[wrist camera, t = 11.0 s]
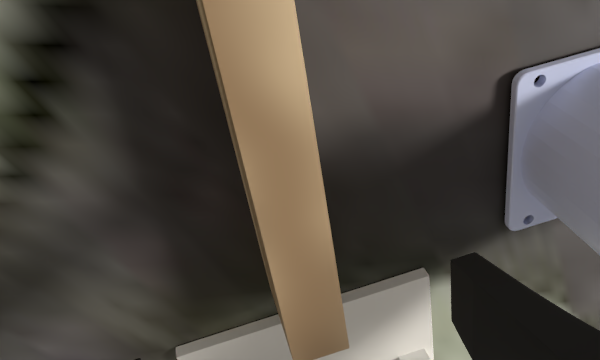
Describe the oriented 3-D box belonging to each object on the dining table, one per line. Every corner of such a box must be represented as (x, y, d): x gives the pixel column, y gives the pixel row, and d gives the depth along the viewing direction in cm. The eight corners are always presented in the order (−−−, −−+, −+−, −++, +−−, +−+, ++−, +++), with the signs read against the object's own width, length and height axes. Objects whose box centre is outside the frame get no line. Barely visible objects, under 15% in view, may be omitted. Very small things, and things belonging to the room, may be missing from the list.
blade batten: (240, -131, 16) (275, -121, 12) (316, 270, 25) (349, 348, 21) (165, -116, 16) (177, -100, 12) (269, 284, 25) (294, 366, 21)
